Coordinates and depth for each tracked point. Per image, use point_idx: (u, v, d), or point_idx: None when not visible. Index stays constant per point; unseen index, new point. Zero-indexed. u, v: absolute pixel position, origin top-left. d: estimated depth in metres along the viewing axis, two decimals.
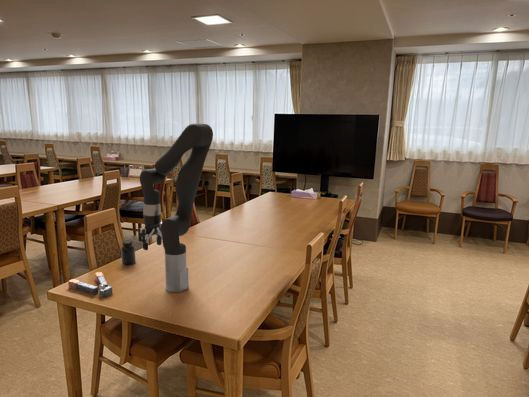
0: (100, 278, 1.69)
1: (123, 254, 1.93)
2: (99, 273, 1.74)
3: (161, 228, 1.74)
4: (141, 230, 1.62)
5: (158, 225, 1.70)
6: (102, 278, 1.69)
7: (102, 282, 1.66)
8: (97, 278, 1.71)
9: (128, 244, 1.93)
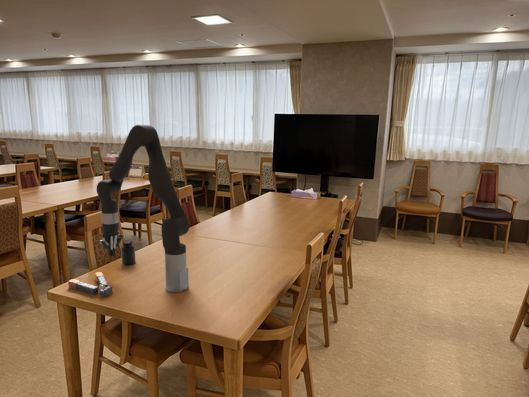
0: (100, 278, 1.69)
1: (123, 254, 1.93)
2: (99, 273, 1.74)
3: (117, 239, 1.81)
4: (100, 243, 1.72)
5: (117, 232, 1.79)
6: (102, 278, 1.69)
7: (102, 282, 1.66)
8: (97, 278, 1.71)
9: (128, 244, 1.93)
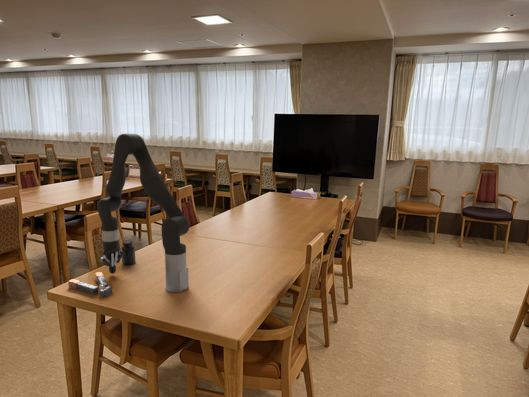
0: (100, 278, 1.69)
1: (123, 254, 1.93)
2: (99, 273, 1.74)
3: (118, 256, 1.82)
4: (101, 260, 1.73)
5: (118, 249, 1.80)
6: (102, 278, 1.69)
7: (102, 282, 1.66)
8: (97, 278, 1.71)
9: (128, 244, 1.93)
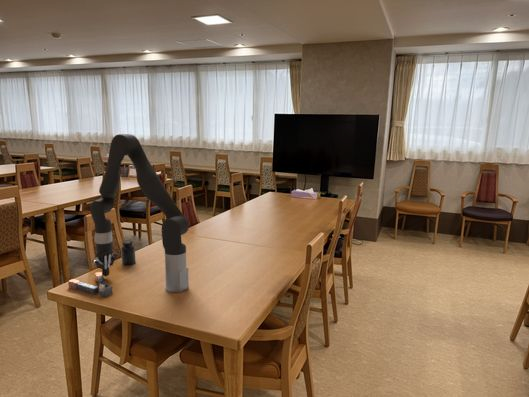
0: (100, 278, 1.69)
1: (123, 254, 1.93)
2: (99, 273, 1.74)
3: (111, 258, 1.79)
4: (94, 262, 1.70)
5: (111, 251, 1.77)
6: (102, 278, 1.69)
7: (102, 282, 1.66)
8: (97, 278, 1.71)
9: (128, 244, 1.93)
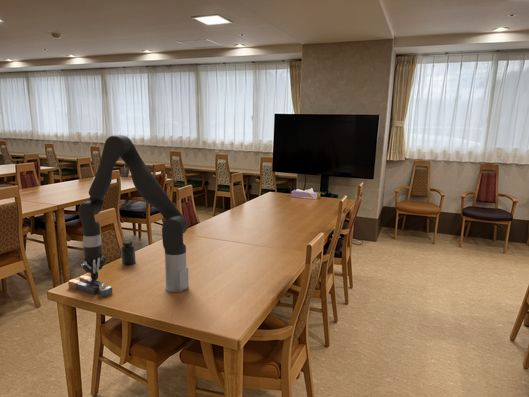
0: (90, 280, 1.67)
1: (123, 254, 1.93)
2: (84, 276, 1.71)
3: (101, 262, 1.73)
4: (82, 266, 1.65)
5: (100, 255, 1.72)
6: (93, 280, 1.67)
7: (96, 283, 1.64)
8: (85, 281, 1.68)
9: (128, 244, 1.93)
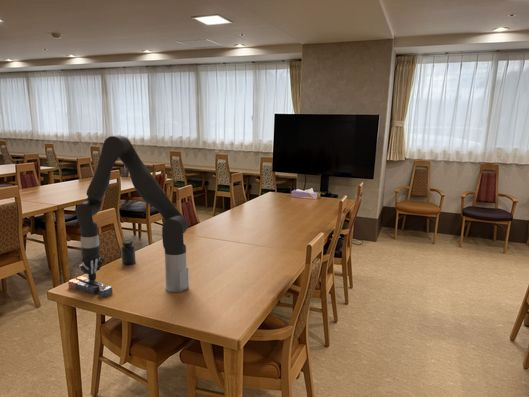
0: (88, 281, 1.66)
1: (123, 254, 1.93)
2: (81, 277, 1.69)
3: (98, 263, 1.72)
4: (80, 267, 1.64)
5: (98, 256, 1.71)
6: (90, 280, 1.67)
7: (95, 283, 1.64)
8: (83, 282, 1.67)
9: (128, 244, 1.93)
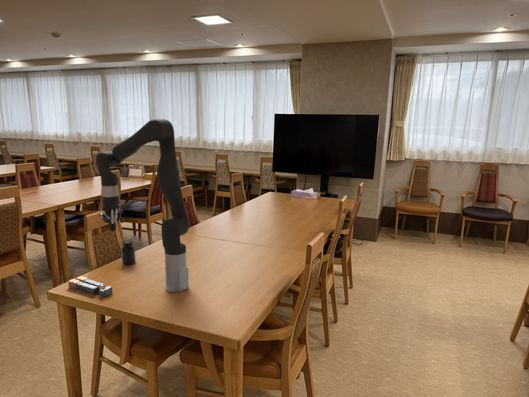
0: (88, 281, 1.66)
1: (123, 254, 1.93)
2: (81, 277, 1.69)
3: (118, 214, 1.77)
4: (101, 216, 1.69)
5: (118, 206, 1.76)
6: (90, 280, 1.67)
7: (95, 283, 1.64)
8: (83, 282, 1.67)
9: (128, 244, 1.93)
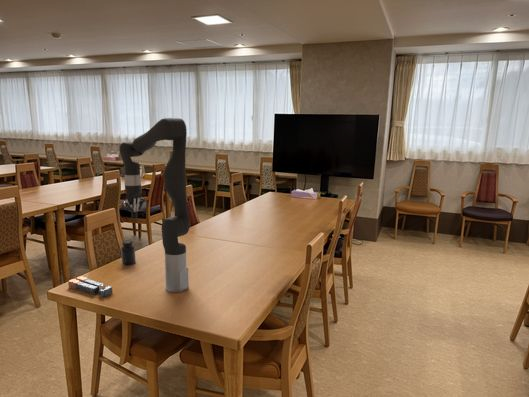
0: (88, 281, 1.66)
1: (123, 254, 1.93)
2: (81, 277, 1.69)
3: (140, 202, 1.83)
4: (124, 204, 1.74)
5: (140, 195, 1.81)
6: (90, 280, 1.67)
7: (95, 283, 1.64)
8: (83, 282, 1.67)
9: (128, 244, 1.93)
